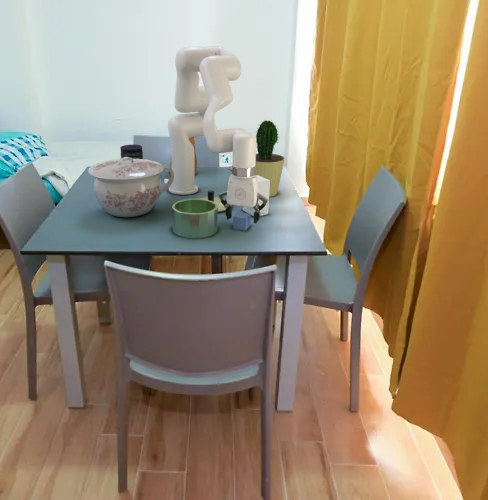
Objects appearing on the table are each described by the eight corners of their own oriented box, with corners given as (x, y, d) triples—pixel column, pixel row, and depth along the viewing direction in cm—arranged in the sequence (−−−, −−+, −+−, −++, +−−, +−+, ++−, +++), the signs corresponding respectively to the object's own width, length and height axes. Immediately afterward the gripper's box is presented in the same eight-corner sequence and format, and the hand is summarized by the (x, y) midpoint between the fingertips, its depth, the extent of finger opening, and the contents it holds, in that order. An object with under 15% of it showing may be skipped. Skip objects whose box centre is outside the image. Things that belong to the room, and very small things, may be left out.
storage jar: (127, 184, 216) (125, 150, 210) (119, 178, 224) (116, 146, 218) (147, 180, 221) (146, 147, 214) (138, 175, 228) (137, 143, 222)
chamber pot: (77, 219, 177) (71, 163, 169) (115, 196, 201) (111, 146, 192) (147, 229, 168) (144, 170, 159) (178, 204, 191) (176, 151, 182)
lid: (182, 210, 185) (182, 195, 182) (199, 197, 198) (199, 183, 196) (223, 216, 179) (223, 200, 176) (237, 202, 192) (238, 187, 189)
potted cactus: (237, 193, 202) (239, 119, 190) (257, 184, 213) (261, 114, 200) (269, 201, 193) (274, 124, 181) (289, 191, 204) (294, 118, 191)
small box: (268, 214, 180) (270, 180, 174) (254, 217, 177) (255, 182, 172) (256, 207, 186) (258, 174, 181) (242, 210, 184) (243, 176, 178)
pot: (165, 234, 164) (164, 210, 160) (184, 219, 176) (183, 196, 173) (207, 241, 158) (207, 216, 154) (223, 225, 171) (224, 202, 167)
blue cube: (233, 228, 167) (233, 216, 166) (237, 224, 171) (237, 212, 169) (245, 230, 166) (246, 218, 164) (249, 226, 170) (250, 213, 168)
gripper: (215, 171, 160) (214, 220, 167) (266, 176, 154) (263, 227, 161) (223, 166, 167) (222, 213, 173) (272, 170, 160) (270, 219, 167)
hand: (242, 220), depth 167 cm, fingers open, 9 cm apart
